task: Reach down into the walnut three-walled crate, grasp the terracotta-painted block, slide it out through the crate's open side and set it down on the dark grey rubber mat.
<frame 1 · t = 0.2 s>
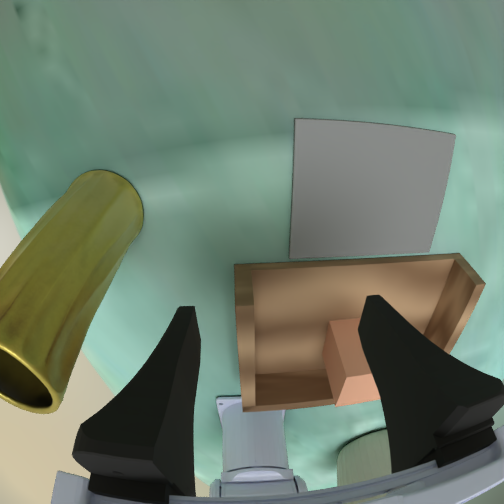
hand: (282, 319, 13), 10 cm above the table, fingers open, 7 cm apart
vase: (104, 208, 21), on the table
crate: (348, 322, 28), on the table
canister: (371, 440, 47), on the table
block: (348, 335, 28), point 1 cm above the table, touching crate
mat: (375, 193, 21), on the table
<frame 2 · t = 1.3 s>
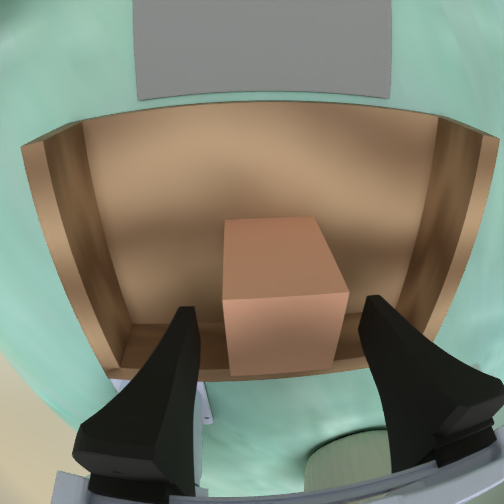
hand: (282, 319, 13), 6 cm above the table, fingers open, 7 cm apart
crate: (268, 232, 17), on the table
canister: (351, 445, 36), on the table
block: (269, 255, 17), point 1 cm above the table, touching crate
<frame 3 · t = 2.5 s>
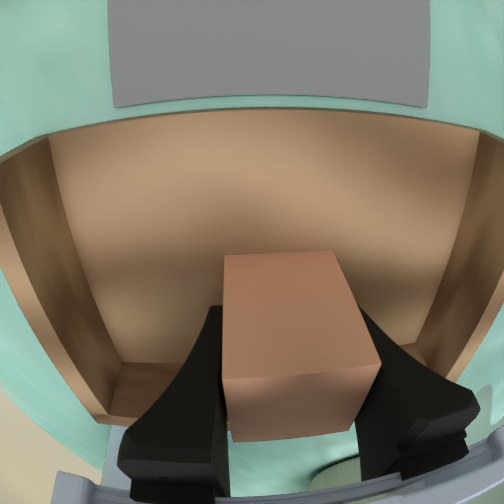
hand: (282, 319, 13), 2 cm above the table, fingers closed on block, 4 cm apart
crate: (276, 266, 15), on the table
canister: (357, 464, 33), on the table
block: (278, 294, 14), point 1 cm above the table, touching crate, gripper
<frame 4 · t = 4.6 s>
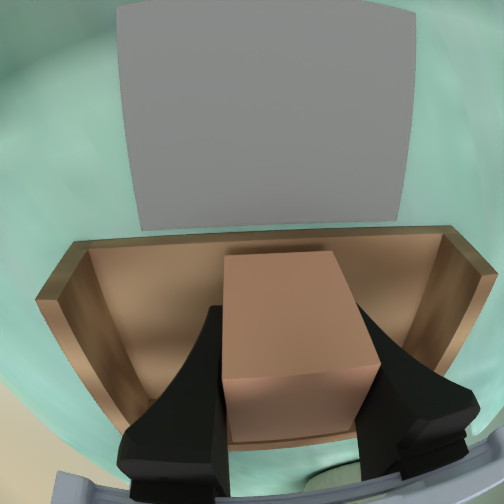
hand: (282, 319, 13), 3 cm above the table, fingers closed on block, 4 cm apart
crate: (271, 335, 19), on the table
canister: (346, 470, 37), on the table
block: (277, 294, 14), point 2 cm above the table, touching gripper
mat: (274, 109, 12), on the table
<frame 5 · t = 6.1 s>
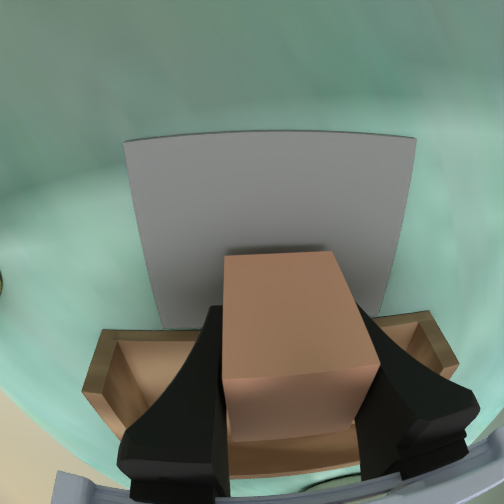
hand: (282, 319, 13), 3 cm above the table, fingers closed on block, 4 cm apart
crate: (270, 393, 21), on the table
canister: (338, 483, 40), on the table
block: (277, 295, 14), point 1 cm above the table, touching gripper
mat: (275, 241, 14), on the table
when the fingers open (3 cm above the table, at t = 6.9 s): block stays where it is, resting on mat.
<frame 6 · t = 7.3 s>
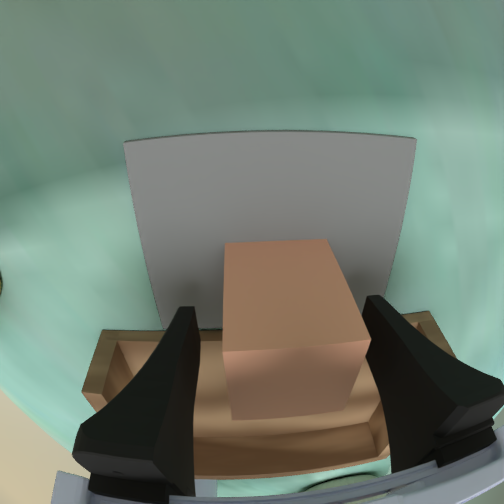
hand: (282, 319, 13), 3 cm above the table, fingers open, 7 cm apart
crate: (270, 393, 21), on the table
canister: (338, 483, 40), on the table
block: (275, 281, 15), resting on mat
mat: (275, 241, 14), on the table
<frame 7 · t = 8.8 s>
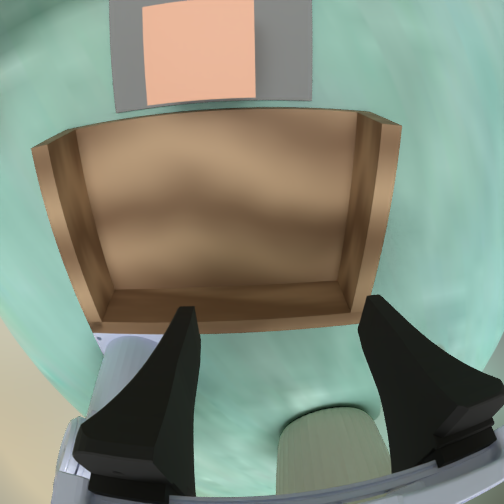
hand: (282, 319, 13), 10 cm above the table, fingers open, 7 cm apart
crate: (218, 212, 22), on the table
canister: (324, 422, 40), on the table
block: (209, 54, 16), resting on mat
mat: (208, 23, 15), on the table
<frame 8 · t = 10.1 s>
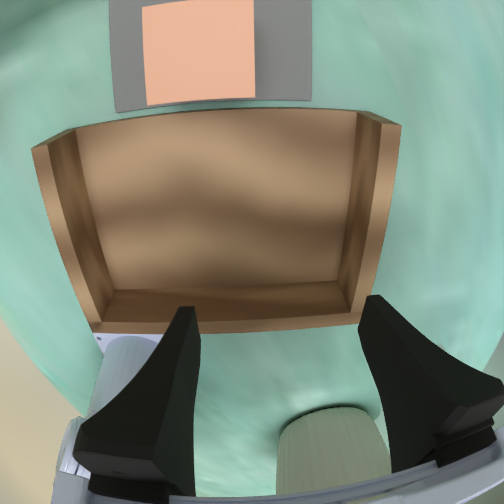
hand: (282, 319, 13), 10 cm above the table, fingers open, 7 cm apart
crate: (218, 212, 22), on the table
canister: (324, 422, 40), on the table
block: (208, 54, 16), resting on mat
mat: (208, 23, 15), on the table
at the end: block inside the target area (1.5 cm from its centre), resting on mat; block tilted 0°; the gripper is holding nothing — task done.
